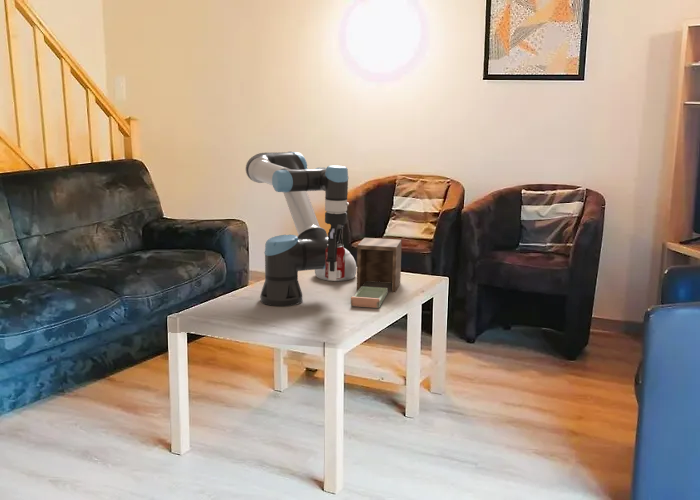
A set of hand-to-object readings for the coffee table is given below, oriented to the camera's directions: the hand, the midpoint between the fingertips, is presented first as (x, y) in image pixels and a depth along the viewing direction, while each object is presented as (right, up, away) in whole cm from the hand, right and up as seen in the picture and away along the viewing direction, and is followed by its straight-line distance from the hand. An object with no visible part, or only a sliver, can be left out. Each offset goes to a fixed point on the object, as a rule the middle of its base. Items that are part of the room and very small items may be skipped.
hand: (334, 277), depth 271 cm
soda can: (0, -1, 0) cm, 1 cm away
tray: (+12, -9, +14) cm, 21 cm away
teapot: (-1, -2, +49) cm, 49 cm away
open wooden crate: (+17, -5, +34) cm, 38 cm away
